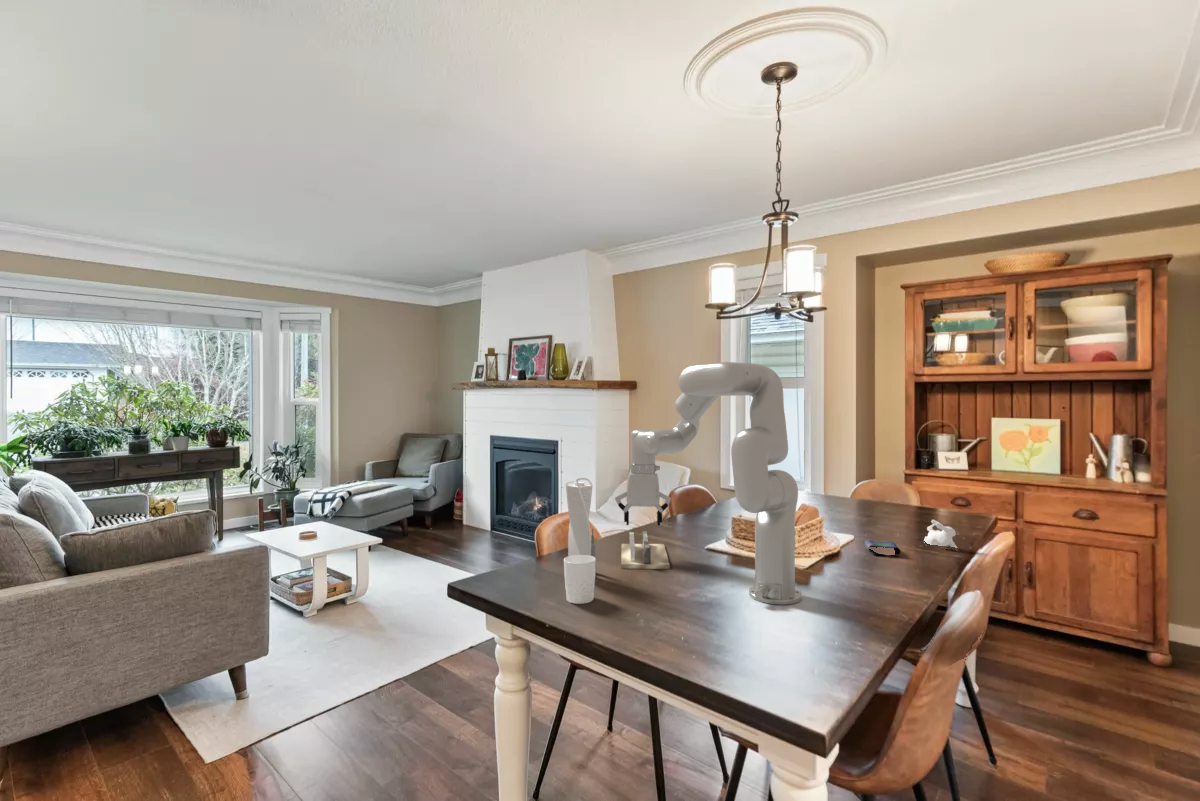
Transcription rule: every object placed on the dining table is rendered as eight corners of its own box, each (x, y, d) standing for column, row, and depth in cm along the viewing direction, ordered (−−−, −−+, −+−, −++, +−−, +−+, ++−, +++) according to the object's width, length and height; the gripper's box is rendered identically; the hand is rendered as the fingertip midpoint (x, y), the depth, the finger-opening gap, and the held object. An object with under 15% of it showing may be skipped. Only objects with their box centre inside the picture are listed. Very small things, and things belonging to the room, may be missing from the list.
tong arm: (633, 546, 188) (633, 532, 188) (634, 561, 170) (634, 546, 170) (629, 546, 188) (629, 532, 188) (630, 561, 170) (629, 546, 170)
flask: (868, 544, 180) (863, 538, 190) (868, 554, 180) (863, 547, 190) (901, 547, 178) (894, 540, 188) (901, 557, 177) (894, 549, 188)
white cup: (597, 594, 146) (597, 554, 146) (594, 605, 138) (593, 563, 138) (566, 593, 147) (566, 554, 147) (561, 604, 139) (561, 563, 139)
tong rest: (663, 548, 191) (663, 530, 191) (669, 569, 167) (669, 549, 167) (621, 548, 191) (621, 530, 191) (621, 569, 167) (621, 548, 167)
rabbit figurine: (964, 552, 184) (964, 522, 184) (947, 555, 181) (947, 524, 181) (930, 544, 195) (930, 515, 195) (914, 546, 192) (914, 517, 192)
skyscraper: (595, 582, 156) (594, 478, 156) (565, 582, 156) (564, 478, 156) (596, 573, 164) (595, 474, 164) (567, 573, 164) (567, 474, 164)
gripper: (670, 468, 182) (670, 522, 183) (615, 467, 183) (615, 521, 183) (672, 471, 175) (672, 527, 175) (614, 470, 176) (615, 527, 176)
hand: (643, 524), depth 179 cm, fingers open, 9 cm apart
